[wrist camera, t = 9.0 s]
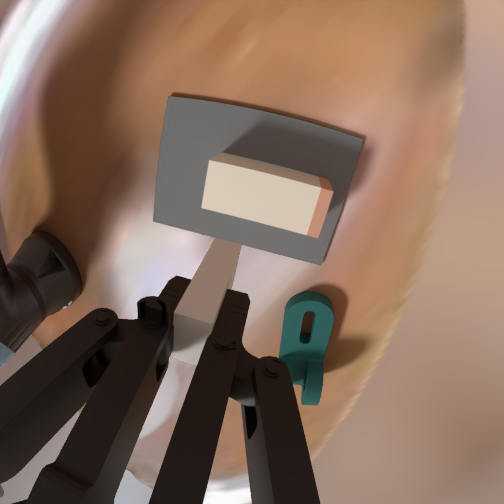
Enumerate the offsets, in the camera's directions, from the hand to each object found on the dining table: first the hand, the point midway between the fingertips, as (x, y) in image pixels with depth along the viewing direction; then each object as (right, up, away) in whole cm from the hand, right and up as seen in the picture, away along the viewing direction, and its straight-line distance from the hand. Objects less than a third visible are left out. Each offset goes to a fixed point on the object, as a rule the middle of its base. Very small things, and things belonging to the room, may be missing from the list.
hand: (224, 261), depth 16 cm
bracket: (+9, -12, +26) cm, 30 cm away
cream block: (-3, +8, +13) cm, 16 cm away
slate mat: (+1, +9, +16) cm, 18 cm away
